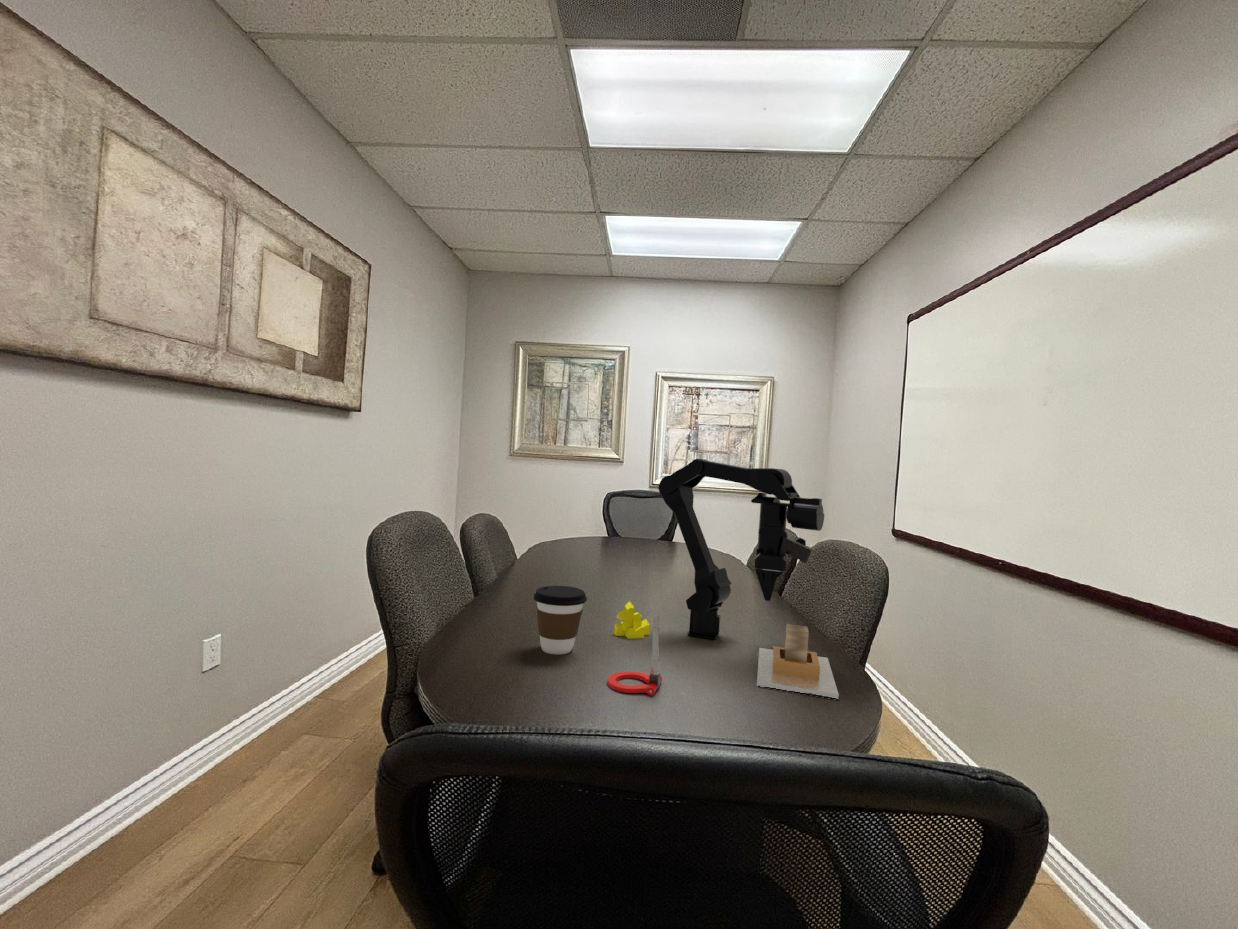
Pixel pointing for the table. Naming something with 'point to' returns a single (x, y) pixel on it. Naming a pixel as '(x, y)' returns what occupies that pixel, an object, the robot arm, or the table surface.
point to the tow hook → (651, 679)
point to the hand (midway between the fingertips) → (767, 595)
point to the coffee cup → (558, 617)
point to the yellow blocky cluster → (631, 623)
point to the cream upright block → (796, 643)
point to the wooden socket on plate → (795, 673)
